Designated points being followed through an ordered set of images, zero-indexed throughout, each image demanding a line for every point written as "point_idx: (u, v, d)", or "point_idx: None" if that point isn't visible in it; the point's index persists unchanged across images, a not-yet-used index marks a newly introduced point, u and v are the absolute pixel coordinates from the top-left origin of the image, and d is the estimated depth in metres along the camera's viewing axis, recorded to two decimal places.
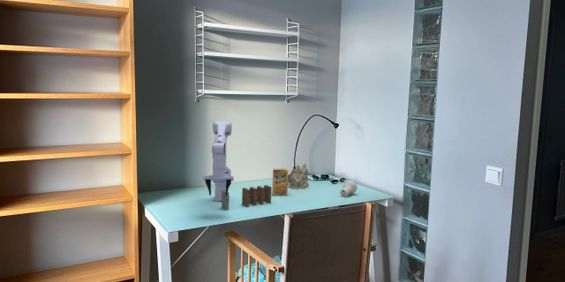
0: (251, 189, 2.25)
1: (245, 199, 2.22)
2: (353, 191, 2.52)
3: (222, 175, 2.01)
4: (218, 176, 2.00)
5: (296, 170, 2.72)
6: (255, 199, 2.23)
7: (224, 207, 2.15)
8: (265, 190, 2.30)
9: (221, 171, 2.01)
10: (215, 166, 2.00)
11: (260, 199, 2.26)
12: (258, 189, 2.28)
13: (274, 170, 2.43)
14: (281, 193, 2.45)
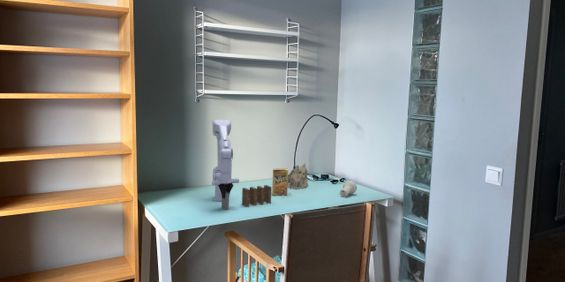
0: (251, 189, 2.25)
1: (245, 199, 2.22)
2: (353, 191, 2.51)
3: (230, 178, 2.14)
4: (228, 180, 2.12)
5: (295, 170, 2.72)
6: (255, 199, 2.23)
7: (224, 207, 2.15)
8: (265, 190, 2.30)
9: (230, 175, 2.13)
10: (223, 170, 2.11)
11: (260, 199, 2.26)
12: (258, 189, 2.28)
13: (274, 170, 2.43)
14: (281, 193, 2.45)
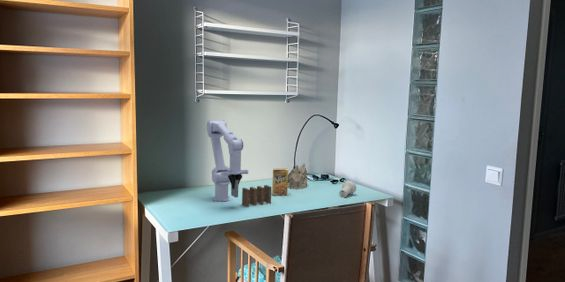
0: (251, 189, 2.25)
1: (245, 199, 2.22)
2: (352, 191, 2.51)
3: (240, 169, 2.16)
4: (237, 171, 2.15)
5: (295, 170, 2.72)
6: (255, 199, 2.23)
7: (233, 195, 2.17)
8: (265, 190, 2.30)
9: (239, 166, 2.15)
10: (234, 161, 2.13)
11: (260, 199, 2.26)
12: (258, 189, 2.28)
13: (274, 170, 2.43)
14: (281, 193, 2.45)
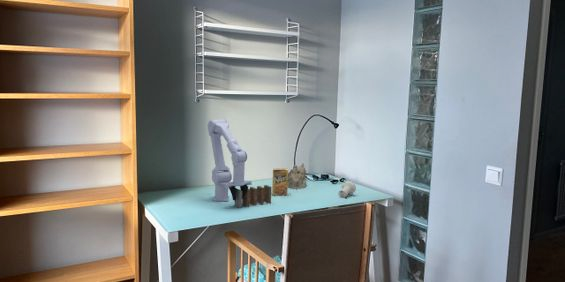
0: (251, 189, 2.25)
1: (245, 199, 2.22)
2: (352, 192, 2.50)
3: (243, 181, 2.18)
4: (241, 182, 2.17)
5: (294, 170, 2.72)
6: (255, 199, 2.23)
7: (237, 205, 2.20)
8: (265, 190, 2.30)
9: (243, 177, 2.17)
10: (239, 173, 2.16)
11: (260, 199, 2.26)
12: (258, 189, 2.28)
13: (274, 170, 2.43)
14: (281, 193, 2.45)
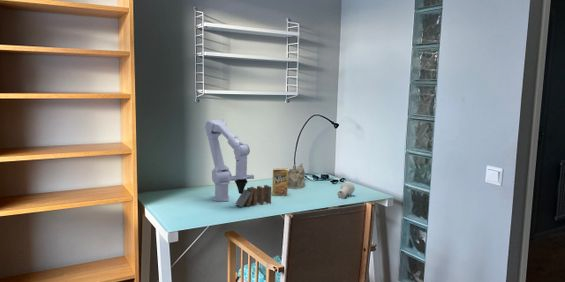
0: None
1: None
2: (351, 192, 2.49)
3: (246, 174, 2.19)
4: (243, 176, 2.17)
5: (292, 170, 2.72)
6: (255, 199, 2.23)
7: (239, 203, 2.20)
8: (265, 190, 2.30)
9: (245, 171, 2.18)
10: (242, 167, 2.16)
11: (260, 199, 2.26)
12: (258, 189, 2.28)
13: (274, 170, 2.43)
14: (281, 193, 2.45)
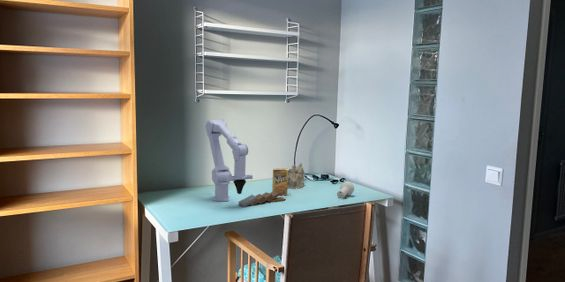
0: (267, 193, 2.33)
1: None
2: (350, 192, 2.48)
3: (244, 174, 2.18)
4: (242, 176, 2.17)
5: (292, 170, 2.72)
6: (264, 200, 2.28)
7: (242, 202, 2.21)
8: (278, 198, 2.36)
9: (244, 171, 2.17)
10: (240, 167, 2.15)
11: None
12: (273, 192, 2.37)
13: (274, 170, 2.43)
14: (281, 193, 2.45)
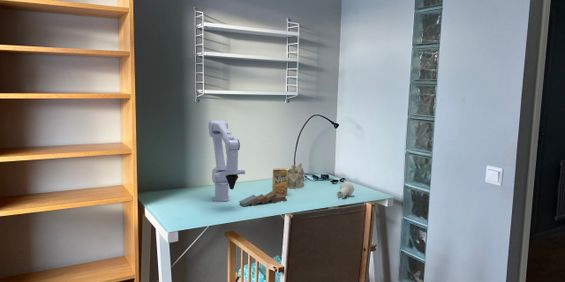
0: (271, 192, 2.32)
1: None
2: (350, 192, 2.48)
3: (237, 170, 2.15)
4: (234, 171, 2.14)
5: (291, 170, 2.72)
6: (267, 199, 2.28)
7: (243, 202, 2.22)
8: None
9: (236, 166, 2.14)
10: (231, 162, 2.12)
11: (275, 197, 2.32)
12: (280, 195, 2.37)
13: (274, 170, 2.43)
14: (281, 193, 2.45)
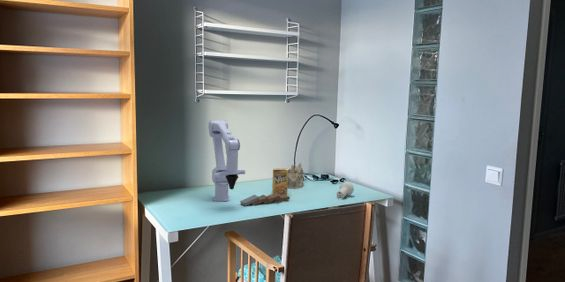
0: (276, 193, 2.31)
1: None
2: (350, 193, 2.48)
3: (237, 170, 2.15)
4: (234, 171, 2.14)
5: (291, 170, 2.72)
6: (269, 200, 2.28)
7: (244, 202, 2.23)
8: None
9: (236, 166, 2.14)
10: (231, 162, 2.12)
11: None
12: (284, 195, 2.36)
13: (274, 170, 2.43)
14: (281, 193, 2.45)
